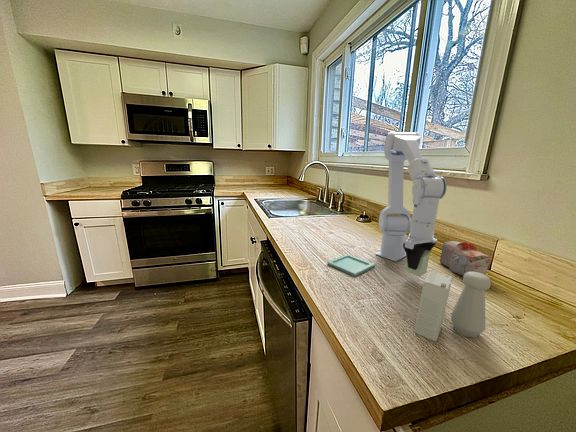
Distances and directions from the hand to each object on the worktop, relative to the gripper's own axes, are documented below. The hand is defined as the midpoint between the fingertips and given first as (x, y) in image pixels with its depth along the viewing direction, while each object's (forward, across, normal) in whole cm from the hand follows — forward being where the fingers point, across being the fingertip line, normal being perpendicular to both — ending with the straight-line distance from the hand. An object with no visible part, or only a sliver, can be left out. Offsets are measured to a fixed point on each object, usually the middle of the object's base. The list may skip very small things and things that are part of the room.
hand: (416, 265), depth 69 cm
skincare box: (+5, -19, -11) cm, 23 cm away
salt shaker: (+5, -13, -16) cm, 21 cm away
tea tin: (+2, 0, 0) cm, 2 cm away
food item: (+5, +19, -7) cm, 21 cm away
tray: (+5, -6, +18) cm, 20 cm away
